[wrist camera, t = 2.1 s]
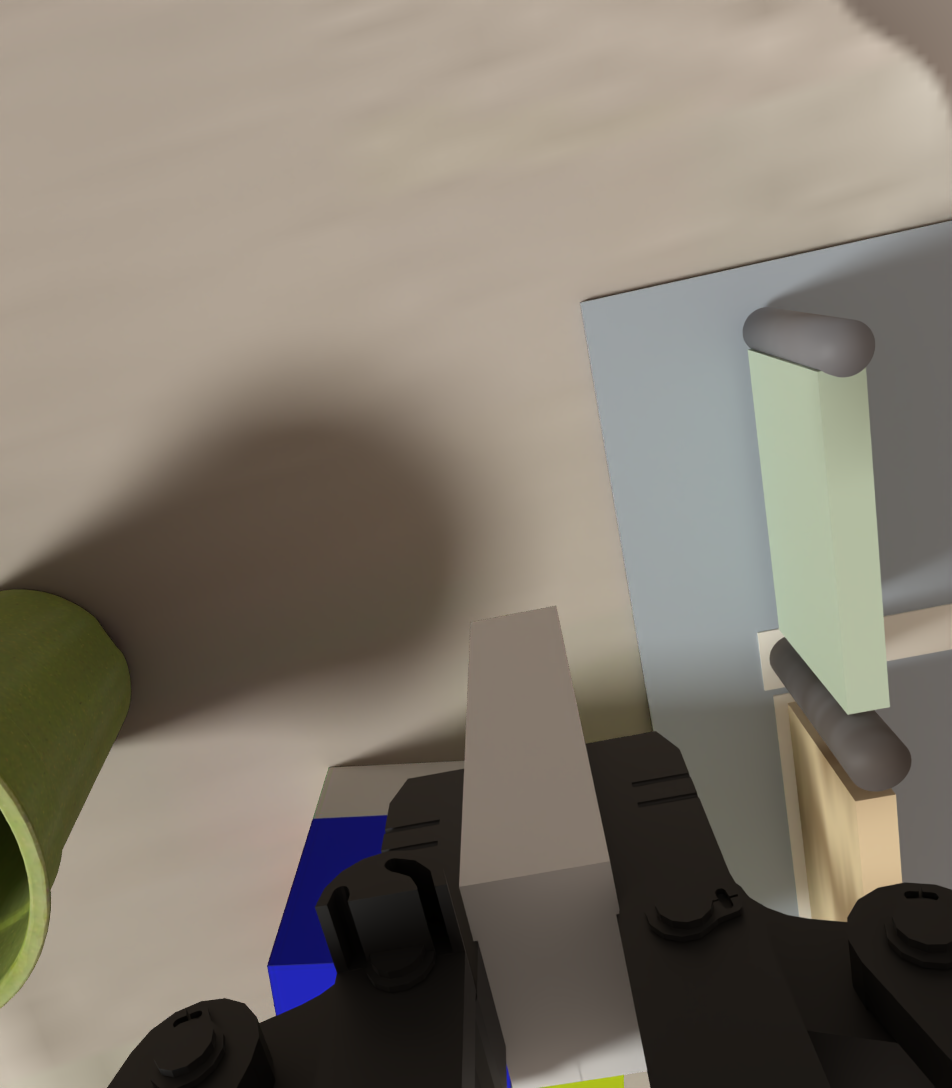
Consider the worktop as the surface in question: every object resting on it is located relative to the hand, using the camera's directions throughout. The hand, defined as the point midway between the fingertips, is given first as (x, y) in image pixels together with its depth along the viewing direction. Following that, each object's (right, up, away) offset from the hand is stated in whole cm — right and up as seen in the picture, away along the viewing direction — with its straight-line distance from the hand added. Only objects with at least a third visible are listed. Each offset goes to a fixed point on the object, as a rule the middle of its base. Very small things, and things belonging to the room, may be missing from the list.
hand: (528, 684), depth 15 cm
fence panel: (+9, +5, +14) cm, 17 cm away
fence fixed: (+12, -8, +19) cm, 24 cm away
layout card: (+14, -1, +16) cm, 22 cm away
